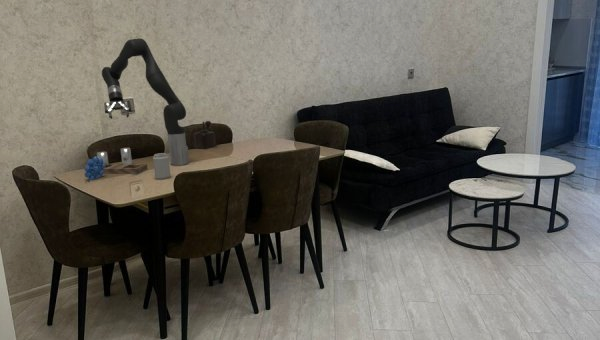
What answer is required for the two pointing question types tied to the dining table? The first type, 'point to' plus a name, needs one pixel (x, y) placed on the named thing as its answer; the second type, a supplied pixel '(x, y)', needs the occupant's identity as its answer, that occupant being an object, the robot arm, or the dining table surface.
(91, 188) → the dining table surface
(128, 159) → the billet
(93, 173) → the grapes
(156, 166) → the can
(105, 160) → the billet
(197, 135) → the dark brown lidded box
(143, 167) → the brown wooden tray
